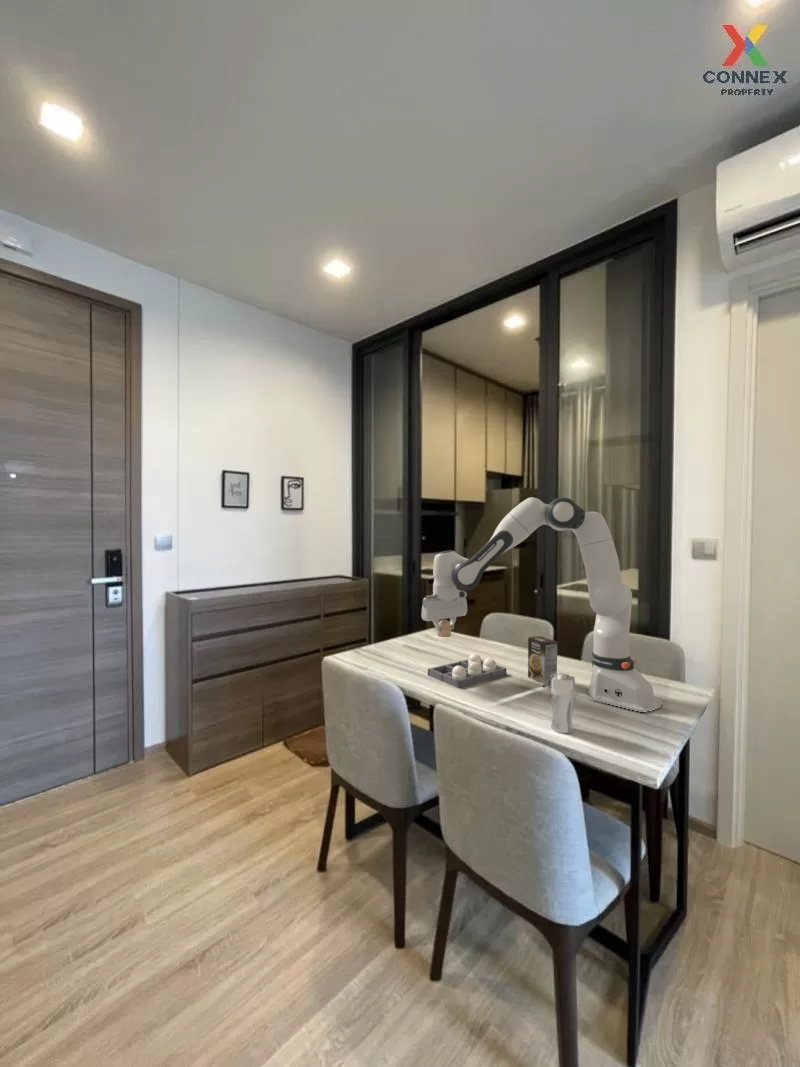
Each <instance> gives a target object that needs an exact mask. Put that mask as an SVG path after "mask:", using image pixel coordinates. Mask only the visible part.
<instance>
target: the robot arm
mask: <svg viewBox="0 0 800 1067" xmlns="http://www.w3.org/2000/svg"><path fill="white" fill-rule="evenodd" d="M543 525H544V526H545V527H547V528H549V529H551V530H553V531H556V532H567V531H571V532H573V533H574V535H575V537H576V540H577V544H578V547H579V550H580V553H581V554H580V555H581V557H582V561H583V565H584V569H585V570H584V571H585V574H586V575H585V576H586V577H585V578H586V584H587V589H588V596H589V605H590V607H591V609H592V611H593V612H595V613H596V616H595V620H594V621H595V622H594V626H593V650H592V652H591V666H592V673H591V679H590V684H589V687H588V690H587V693H588V695H589V694H590V697H592V698H593V699H592V698H591V699H592V701H594V700H595V701H594V702H597V701H598V702H597V703H601V702H602V703H601V704H605V703H606V704H605V705H608V704H610V705H609V706H612V705H614V706H613V707H616V706H618V708H620V707H622V708H621V709H624V708H626V709H625V710H628V709H630V710H629V711H632V710H634V711H633V712H636V711H639V712H638V713H640V712H644V711H650V710H653V709H656V708H658V707H659V706H661V704H662V705H663V702H662V700H661V699H658V698H656V697H655V693H654V692H655V691H654V687H653V685H652V683H650V681H648V679H646V678H645V677H644V676H643V675H642V674H641V673H640V672H639V671H637V669H635V664H637V659H634V660H633V659H632V658H631V656H630V630H631V629H630V627H631V619H632V618H631V616H632V608H633V607H632V603H633V594H632V590H631V588H630V587H629V585H628V584H627V583H625V582H623V580H622V574H621V569H620V560H619V557H618V553H617V549H616V546H615V543H614V539H613V536H612V532H611V529H610V527H609V526H608V524H607V521H606V519H605V518H604V516H603V514H602V513H600V512H598V511H585V510H584V509H583V508H582V507H581V506H580V505H578V504H577V502H576V501H574V500H573V499H571V498H568V497H561V496H560V497H557V498H554V499H553V500H552V501H550V502H549V504H548V503H544V502H543V501H542V500H541V499H539V498H537V497H532V496H531V497H528V498H526V499H524V500H523V501H521V502H519V504H517V505H516V506H515V507H513V508H512V509H511V510H510V511H509V512H508V513H507V514H506V515H505V516H504V517H503V519H502V520H501V521H499V524H498V525H497V527H496V528H495V529H494V532H493V534H492V536H491V537H490V539H489V541H487V542H486V544H485V545H483V547H481V548H480V550H478V551H477V552H476V553H475V555H473V556H472V557H471V558H467V557H464V556H462V555H460V554H458V553H457V552H456V551H455V550H444V551H439V552H438V553H437V554H435V555H434V559H433V564H432V565H433V566H432V569H433V571H432V574H433V575H432V576H433V584H432V592H433V593H432V594H431V595H425V597H424V598H423V599H422V604H421V605H422V606H421V619H422V621H426V622H432V623H433V626H434V631H435V632H437V633H438V631H441V626H439V624H438V623H439V622H440V621H441V620H447V619H449V620H450V621H449V622H450V624H451V630H454V629H455V624H456V621H457V618H459V617H462V616H463V617H464V616H466V615H467V613H468V601H467V599H466V598H467V595H468V594H467V592H466V591H471V590H473V589H475V588H476V587H478V585H479V584H480V581H481V579H482V576H483V574H484V573H485V571H486V570H487V569H488V568H489V567H490V566H491V565H492V564H493V563H494V562H495V561H496V560H498V558H499V557H500V556H501V555H503V554H504V553H506V552H507V551H509V550H511V549H512V548H514V547H516V546H517V545H519V544H521V543H522V542H524V540H526V539H527V538H528V537H530V536H531V534H533V533H534V532H535V531H536V530H537V529H538V528H539V527H541V526H543ZM661 707H662V706H661Z"/></svg>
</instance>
